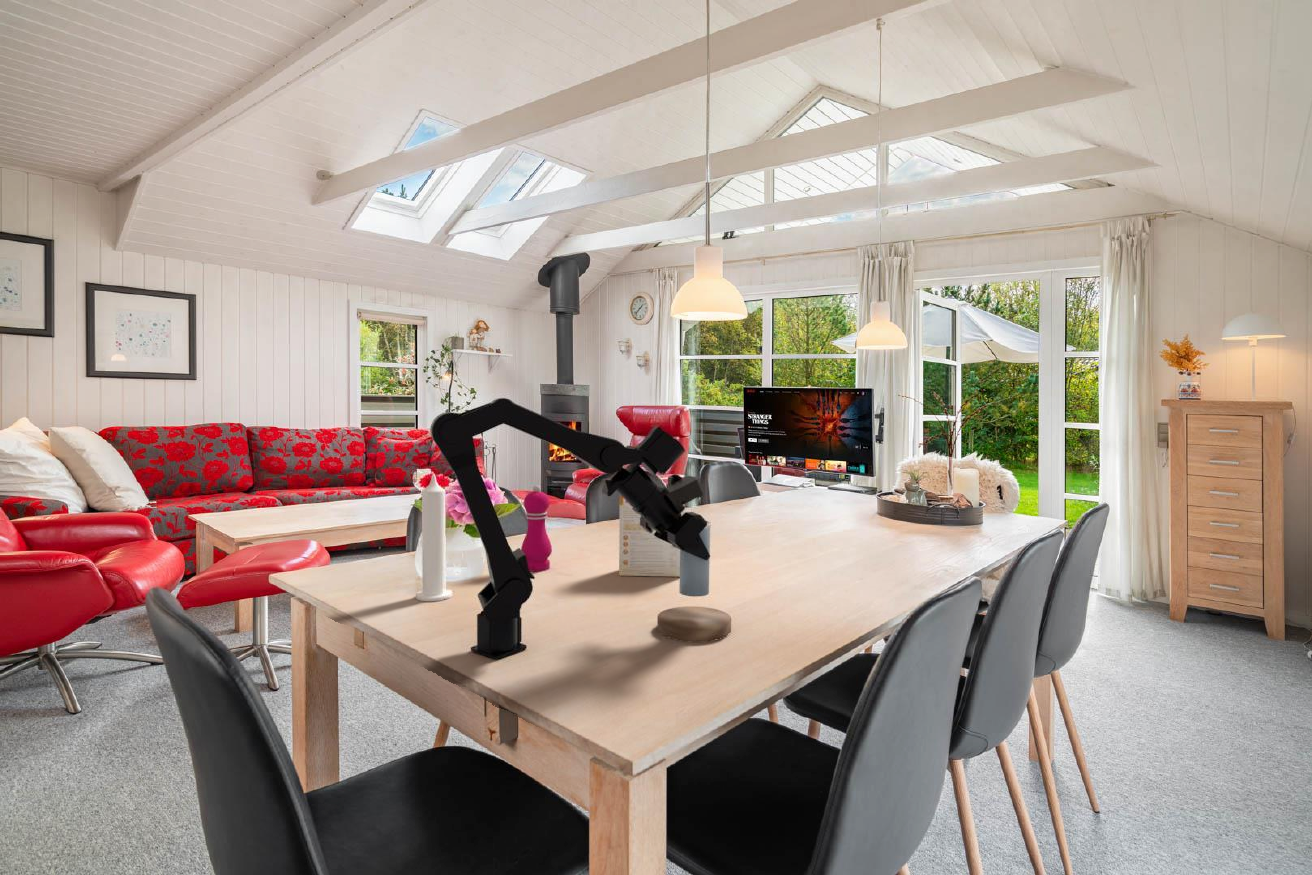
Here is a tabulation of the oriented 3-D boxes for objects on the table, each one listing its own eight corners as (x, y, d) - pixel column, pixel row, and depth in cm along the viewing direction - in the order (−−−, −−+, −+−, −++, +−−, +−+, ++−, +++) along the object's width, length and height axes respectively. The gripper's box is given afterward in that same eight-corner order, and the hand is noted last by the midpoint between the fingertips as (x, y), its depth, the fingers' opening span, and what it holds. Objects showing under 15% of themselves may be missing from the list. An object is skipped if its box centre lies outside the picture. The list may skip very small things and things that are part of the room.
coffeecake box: (683, 570, 168) (684, 488, 167) (683, 577, 161) (685, 492, 160) (621, 568, 168) (622, 487, 167) (618, 576, 161) (619, 491, 160)
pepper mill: (545, 572, 164) (545, 487, 163) (516, 570, 165) (516, 486, 164) (556, 565, 171) (556, 483, 170) (527, 564, 172) (528, 482, 171)
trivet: (704, 649, 115) (705, 634, 115) (642, 632, 123) (642, 618, 123) (744, 629, 126) (744, 615, 125) (684, 615, 133) (684, 602, 133)
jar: (690, 598, 120) (691, 525, 120) (673, 590, 125) (674, 520, 124) (715, 594, 123) (716, 523, 122) (697, 587, 128) (698, 518, 127)
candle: (408, 598, 141) (407, 474, 140) (434, 590, 147) (433, 471, 146) (434, 603, 138) (433, 476, 137) (459, 594, 144) (459, 473, 143)
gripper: (696, 465, 113) (756, 530, 117) (657, 456, 130) (710, 513, 134) (649, 516, 110) (712, 581, 115) (615, 500, 128) (671, 556, 132)
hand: (701, 555), depth 124 cm, fingers closed on jar, 5 cm apart
